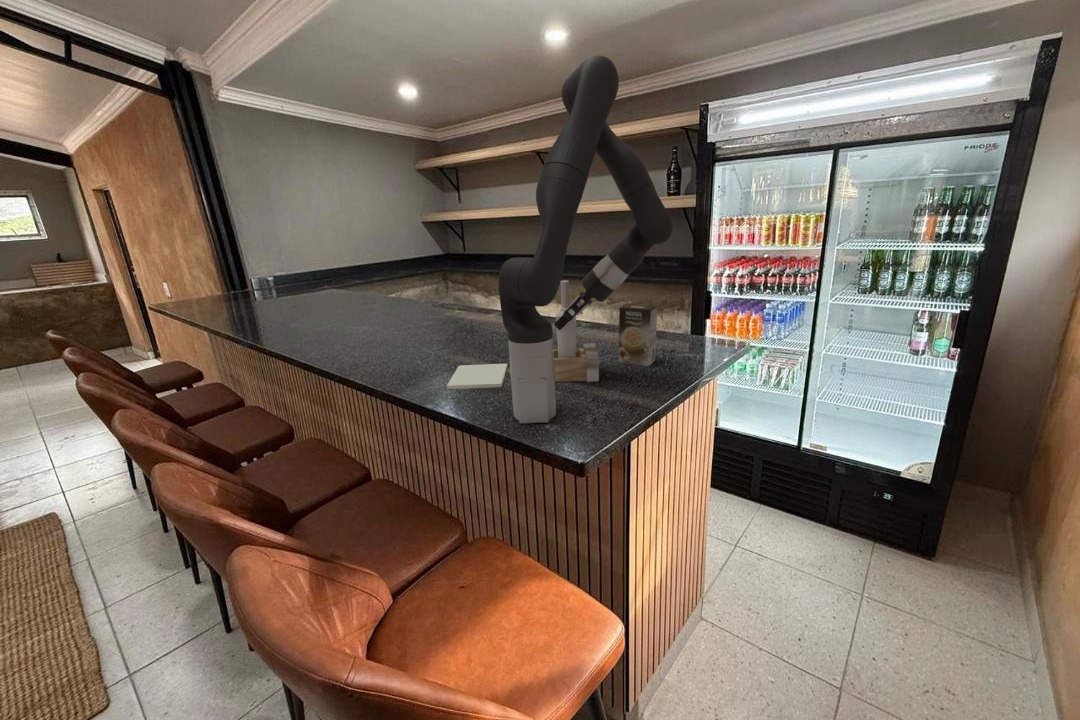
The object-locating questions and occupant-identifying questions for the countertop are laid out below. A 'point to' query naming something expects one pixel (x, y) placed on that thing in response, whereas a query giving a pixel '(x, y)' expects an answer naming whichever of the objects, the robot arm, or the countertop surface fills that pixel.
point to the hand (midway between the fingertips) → (560, 323)
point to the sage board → (478, 376)
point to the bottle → (566, 327)
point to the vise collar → (578, 365)
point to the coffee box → (637, 334)
